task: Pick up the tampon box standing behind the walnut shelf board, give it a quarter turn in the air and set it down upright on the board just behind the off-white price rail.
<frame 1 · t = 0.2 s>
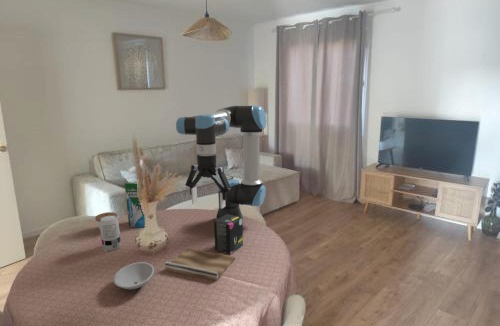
hand: (208, 205, 136), 27 cm above the table, fingers open, 13 cm apart
milk carton: (140, 224, 187), on the table
shelf board: (201, 264, 143), on the table
supplement can: (112, 248, 159), on the table
dish: (135, 285, 128), on the table
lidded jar: (107, 229, 180), on the table
tampon box: (229, 248, 158), on the table
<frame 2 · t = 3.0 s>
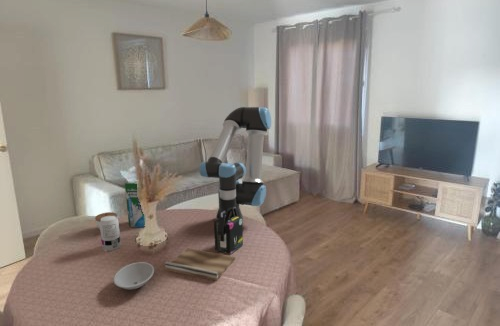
hand: (229, 241, 157), 3 cm above the table, fingers closed on tampon box, 12 cm apart
tampon box: (229, 248, 158), on the table, touching gripper
everything else where it was.
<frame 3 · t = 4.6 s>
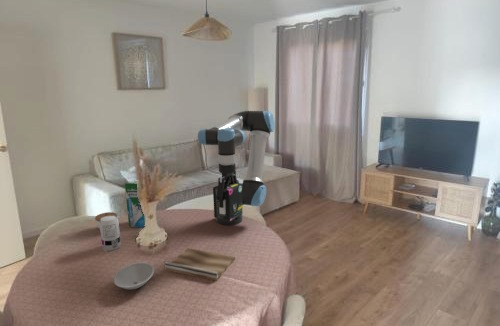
hand: (228, 208, 153), 19 cm above the table, fingers closed on tampon box, 12 cm apart
tampon box: (228, 216, 154), point 16 cm above the table, touching gripper
everything else where it was.
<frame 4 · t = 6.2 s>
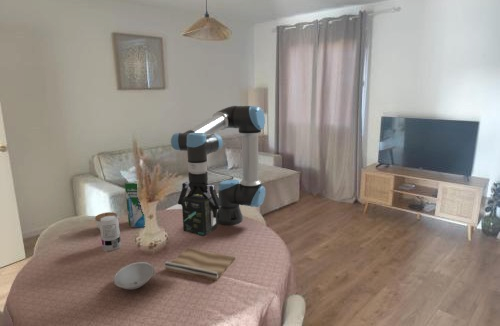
hand: (200, 222, 137), 20 cm above the table, fingers closed on tampon box, 12 cm apart
tampon box: (200, 230, 138), point 16 cm above the table, touching gripper
everything else where it was.
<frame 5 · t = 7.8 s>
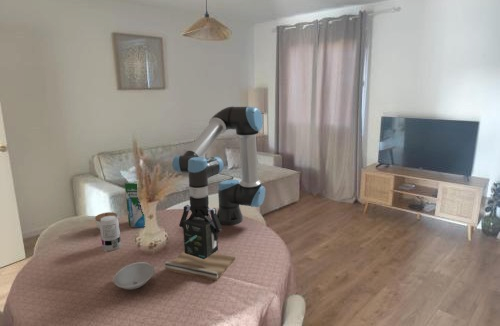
hand: (201, 244, 139), 10 cm above the table, fingers closed on tampon box, 12 cm apart
tampon box: (201, 252, 140), point 6 cm above the table, touching gripper
everything else where it was.
when the fingers open (6 cm above the table, at t = 9.3 s): tampon box drops 1 cm, resting on shelf board.
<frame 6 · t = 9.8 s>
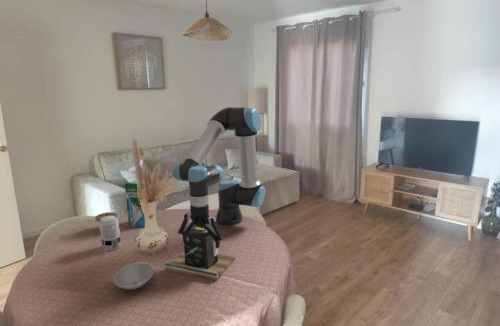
hand: (201, 251, 140), 7 cm above the table, fingers open, 13 cm apart
tampon box: (201, 263, 142), point 1 cm above the table, touching shelf board
everything else where it was.
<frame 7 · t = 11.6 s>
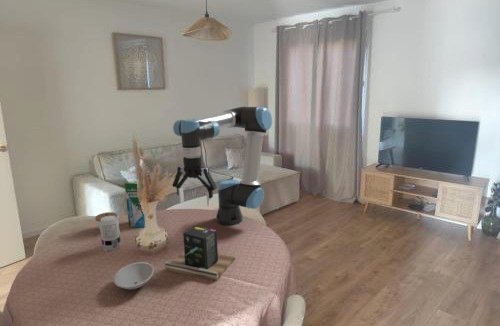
hand: (195, 203, 146), 25 cm above the table, fingers open, 13 cm apart
nothing on the table moved.
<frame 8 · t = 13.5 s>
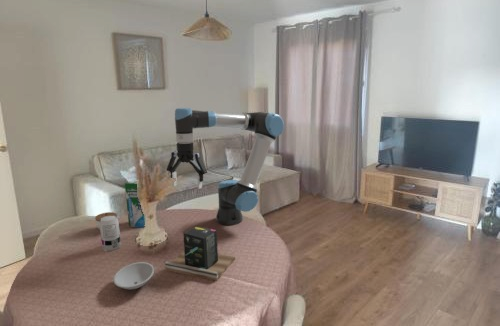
hand: (187, 186, 156), 29 cm above the table, fingers open, 13 cm apart
nothing on the table moved.
at the end: tampon box inside the target area (0.2 cm from its centre), point 1.0 cm above the table; tampon box tilted 0°; the gripper is holding nothing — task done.
